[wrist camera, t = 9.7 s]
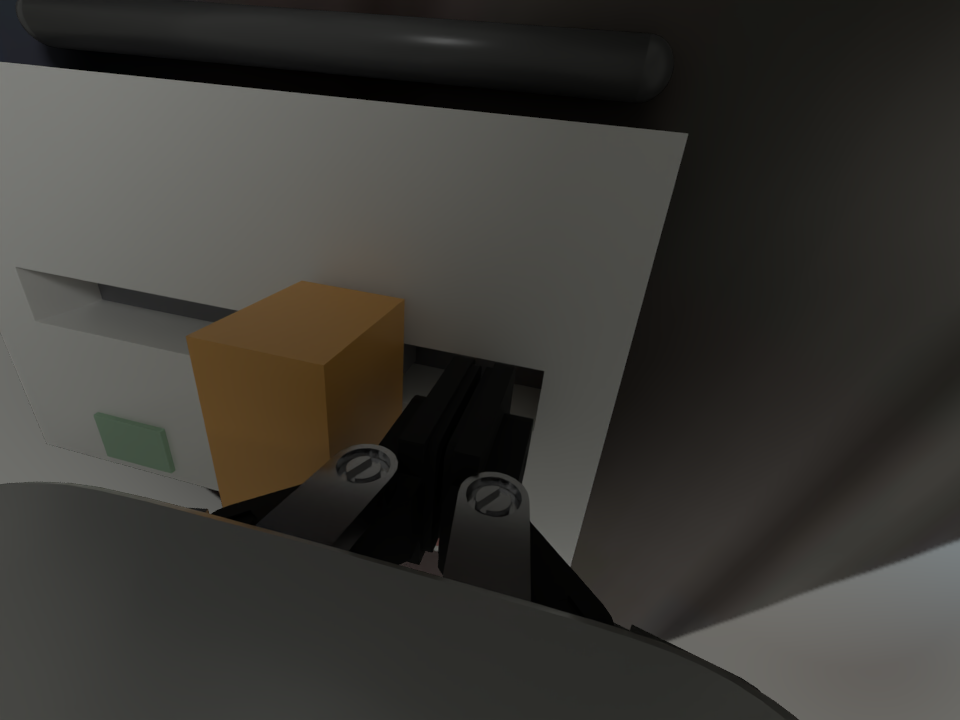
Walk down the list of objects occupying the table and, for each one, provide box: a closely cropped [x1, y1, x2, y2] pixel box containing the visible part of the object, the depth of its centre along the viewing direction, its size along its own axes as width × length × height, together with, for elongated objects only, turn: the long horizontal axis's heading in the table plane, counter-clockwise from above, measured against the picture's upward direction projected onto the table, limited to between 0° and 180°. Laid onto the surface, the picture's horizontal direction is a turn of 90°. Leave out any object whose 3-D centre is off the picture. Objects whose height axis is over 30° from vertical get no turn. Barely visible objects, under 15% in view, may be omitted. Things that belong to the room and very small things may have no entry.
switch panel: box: [0, 0, 688, 566], centre depth 16 cm, size 22×16×5 cm
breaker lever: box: [186, 281, 416, 508], centre depth 13 cm, size 3×5×6 cm, turn 174°
